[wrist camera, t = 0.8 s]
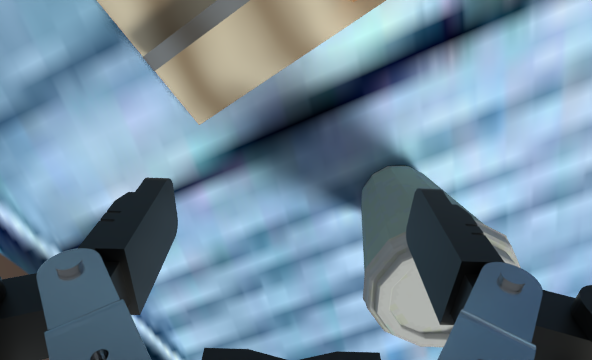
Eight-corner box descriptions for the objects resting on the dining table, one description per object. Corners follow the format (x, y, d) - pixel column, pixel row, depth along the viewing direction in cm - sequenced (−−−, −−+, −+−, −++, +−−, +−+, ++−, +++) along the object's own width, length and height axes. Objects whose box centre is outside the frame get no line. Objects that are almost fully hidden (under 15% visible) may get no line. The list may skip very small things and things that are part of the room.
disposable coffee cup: (352, 243, 40) (383, 373, 27) (327, 157, 35) (351, 266, 22) (451, 218, 39) (534, 343, 26) (440, 125, 34) (537, 222, 21)
